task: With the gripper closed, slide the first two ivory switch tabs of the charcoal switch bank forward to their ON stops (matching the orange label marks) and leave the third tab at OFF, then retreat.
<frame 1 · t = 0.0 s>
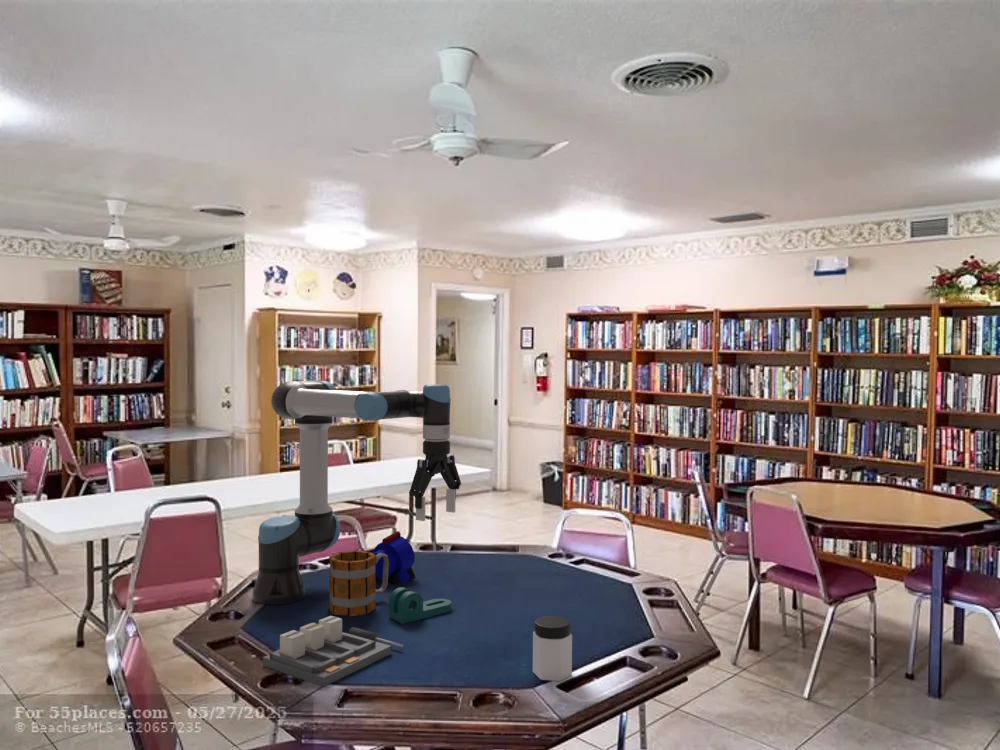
hand: (436, 516, 208), 28 cm above the table, fingers open, 13 cm apart
mug: (361, 606, 216), on the table
tab 2: (312, 636, 179), point 5 cm above the table, slide at 0.0 cm
tab 1: (292, 644, 174), point 5 cm above the table, slide at 0.0 cm
screwdriver: (372, 642, 188), on the table
tab 3: (330, 629, 184), point 5 cm above the table, slide at 0.0 cm
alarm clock: (390, 579, 243), on the table
bracket: (423, 614, 210), on the table
switch bank: (328, 659, 177), on the table
jar: (552, 674, 170), on the table
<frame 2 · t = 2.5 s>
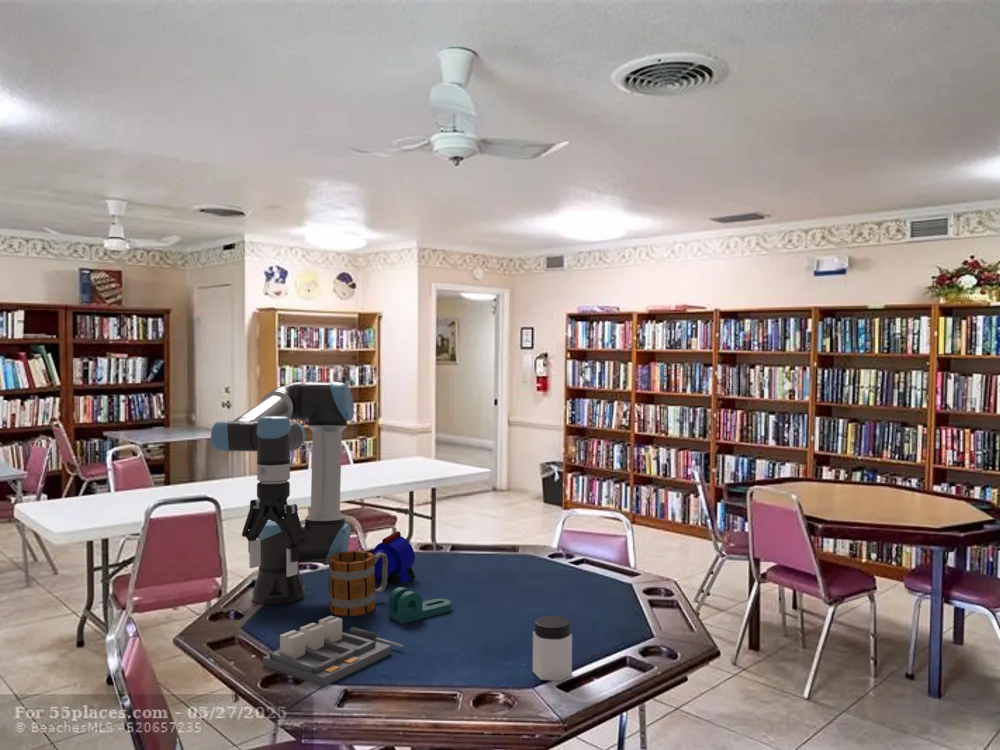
hand: (273, 571, 178), 21 cm above the table, fingers open, 12 cm apart
mug: (361, 606, 216), on the table, touching arm
everything else where it was.
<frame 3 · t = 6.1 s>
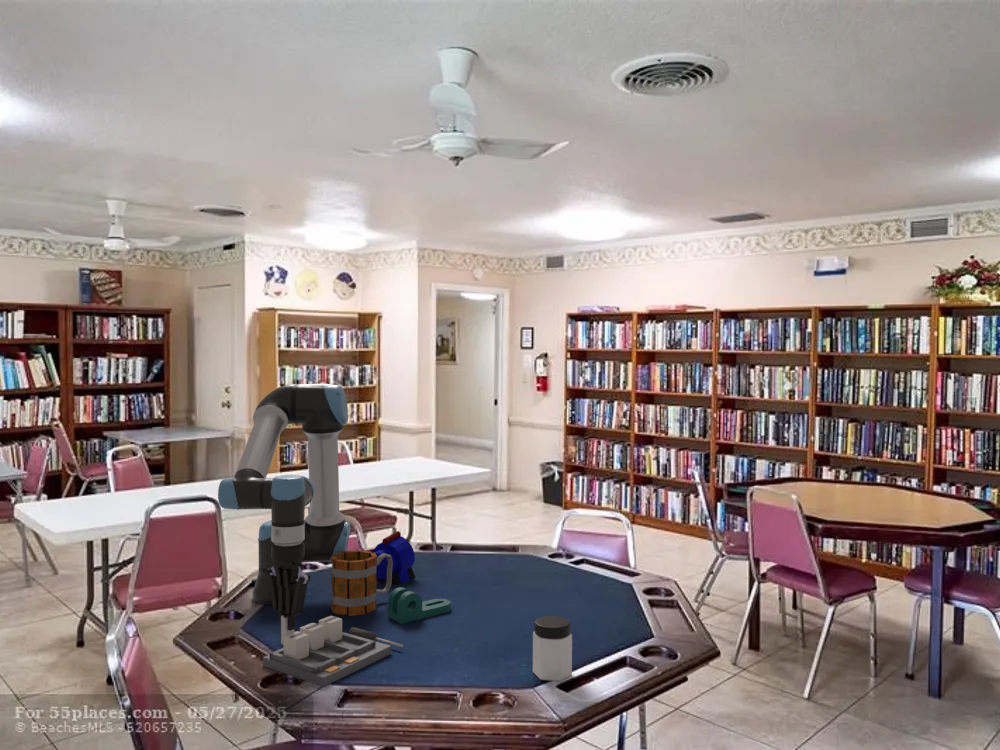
hand: (287, 642, 174), 5 cm above the table, fingers closed
mug: (363, 606, 216), on the table
tab 1: (296, 645, 173), point 5 cm above the table, slide at 1.3 cm, touching gripper
everything else where it was.
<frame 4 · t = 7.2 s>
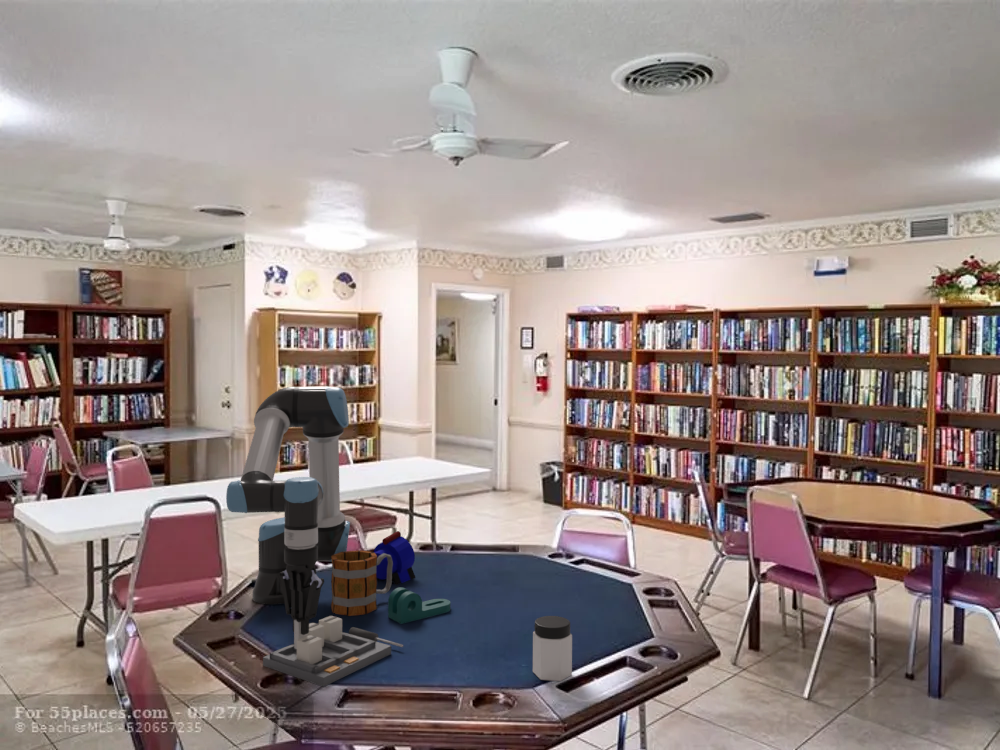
hand: (300, 647, 172), 5 cm above the table, fingers closed
tab 1: (309, 649, 171), point 5 cm above the table, slide at 5.7 cm, touching gripper
everything else where it was.
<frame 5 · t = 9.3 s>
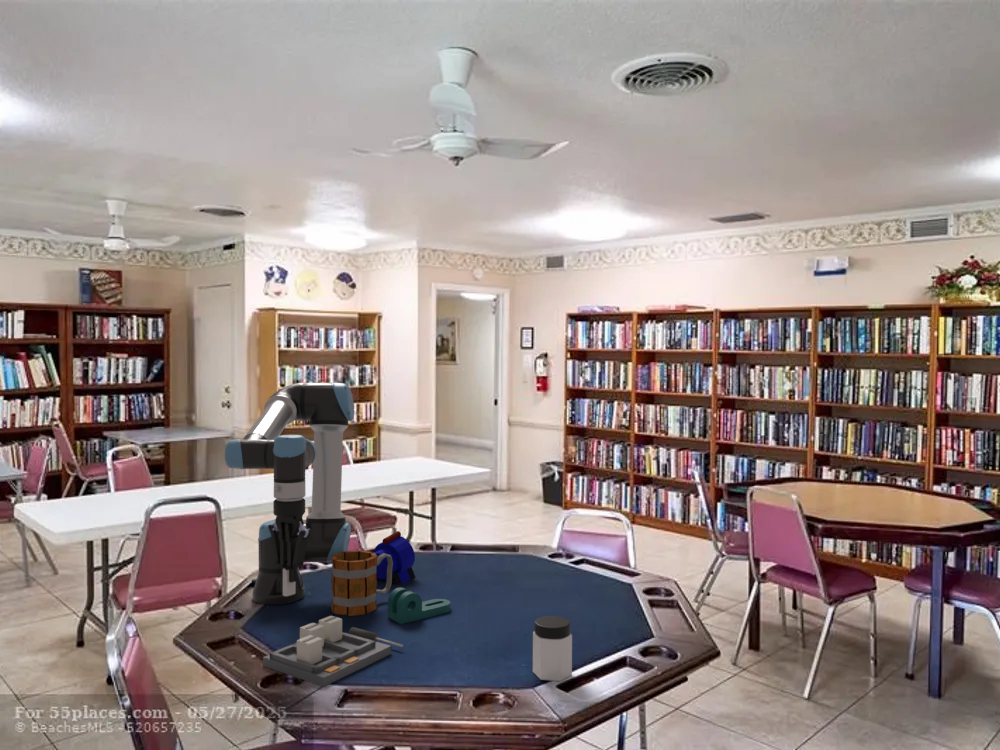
hand: (289, 594, 183), 14 cm above the table, fingers closed
tab 1: (309, 649, 171), point 5 cm above the table, slide at 5.7 cm
everything else where it was.
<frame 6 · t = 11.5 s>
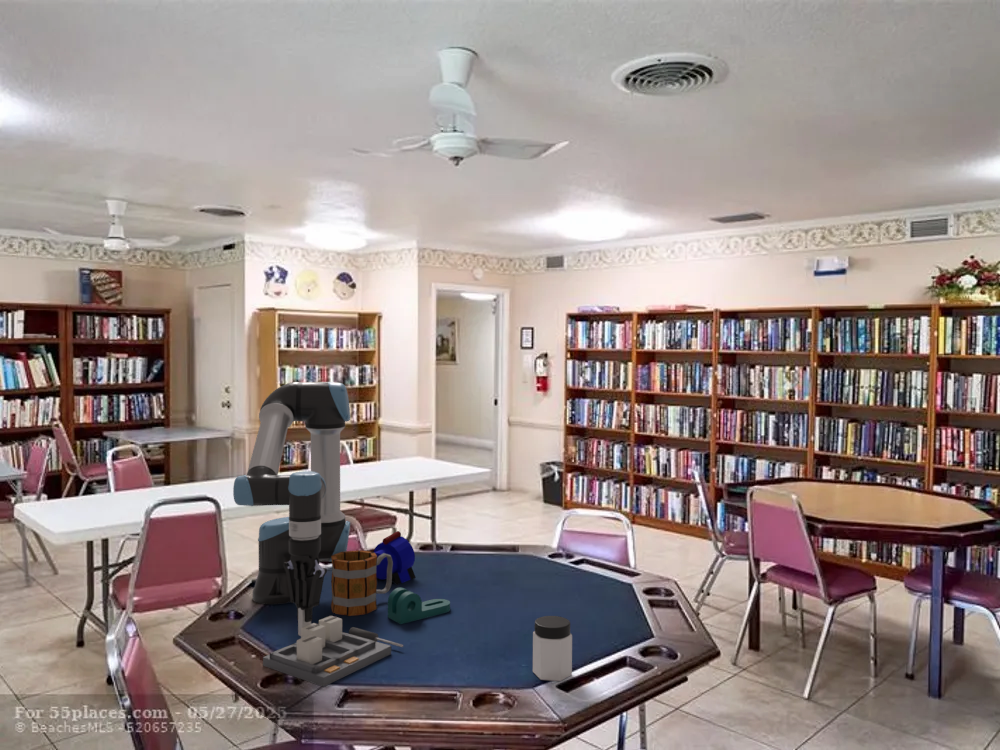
hand: (304, 633, 180), 5 cm above the table, fingers closed
tab 2: (313, 637, 179), point 5 cm above the table, slide at 0.4 cm, touching gripper
everything else where it was.
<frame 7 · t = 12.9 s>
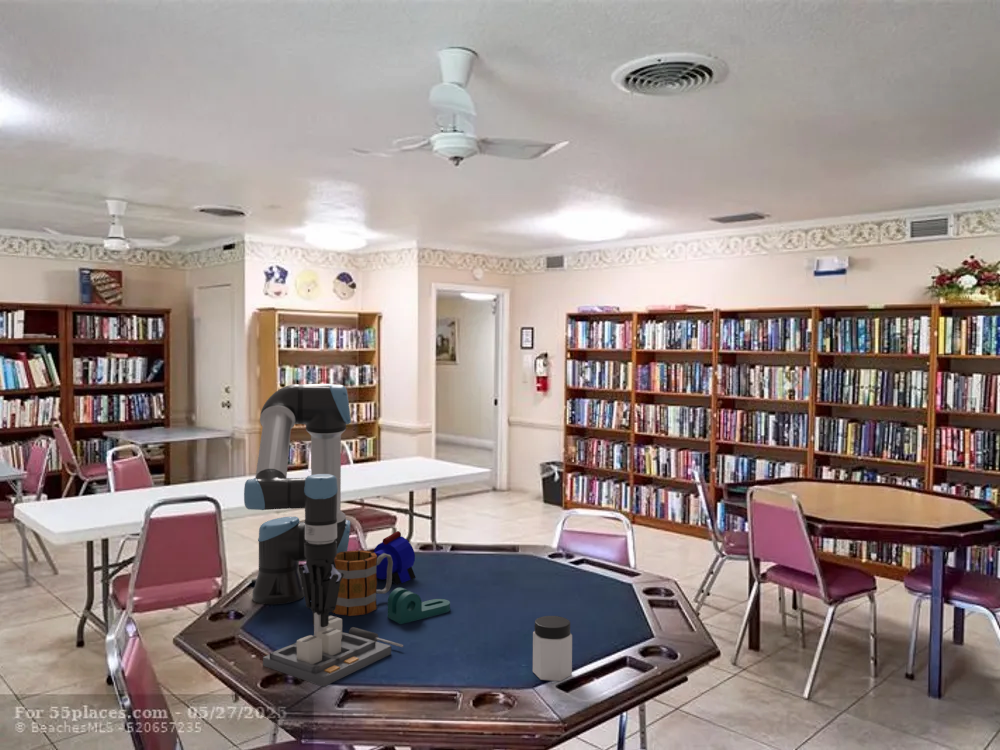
hand: (320, 639, 177), 5 cm above the table, fingers closed
tab 2: (328, 641, 176), point 5 cm above the table, slide at 5.7 cm, touching gripper
everything else where it was.
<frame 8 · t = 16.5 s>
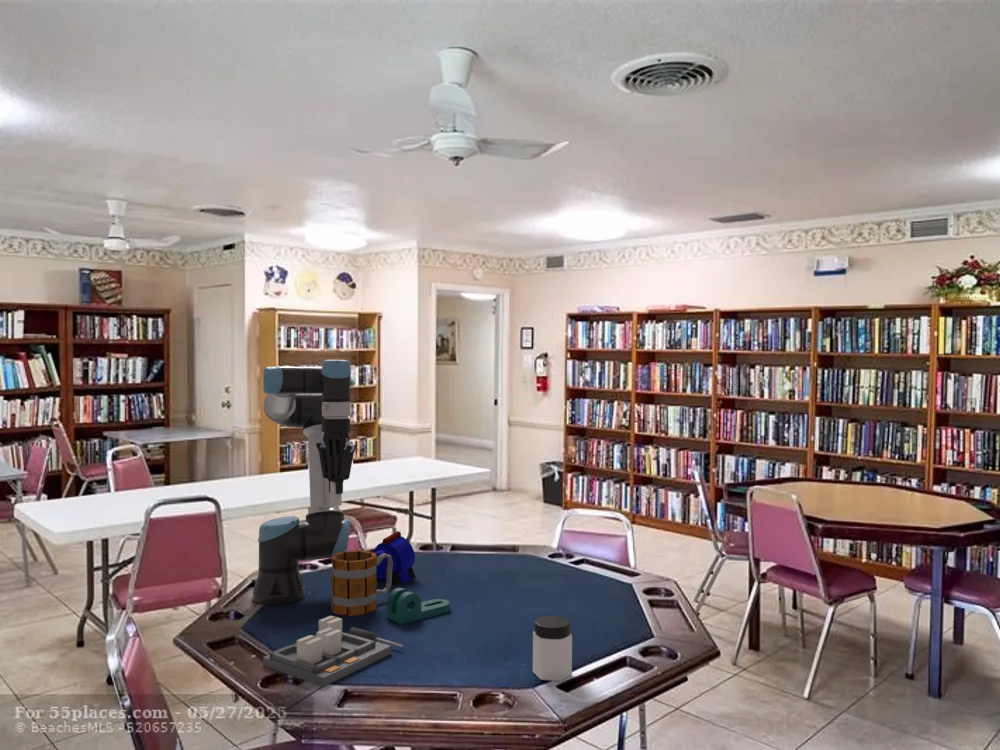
hand: (335, 505, 199), 32 cm above the table, fingers closed
tab 2: (328, 641, 176), point 5 cm above the table, slide at 5.7 cm
everything else where it was.
at the end: tab 1 slide at 5.7 cm; tab 2 slide at 5.7 cm; tab 3 slide at 0.0 cm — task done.
